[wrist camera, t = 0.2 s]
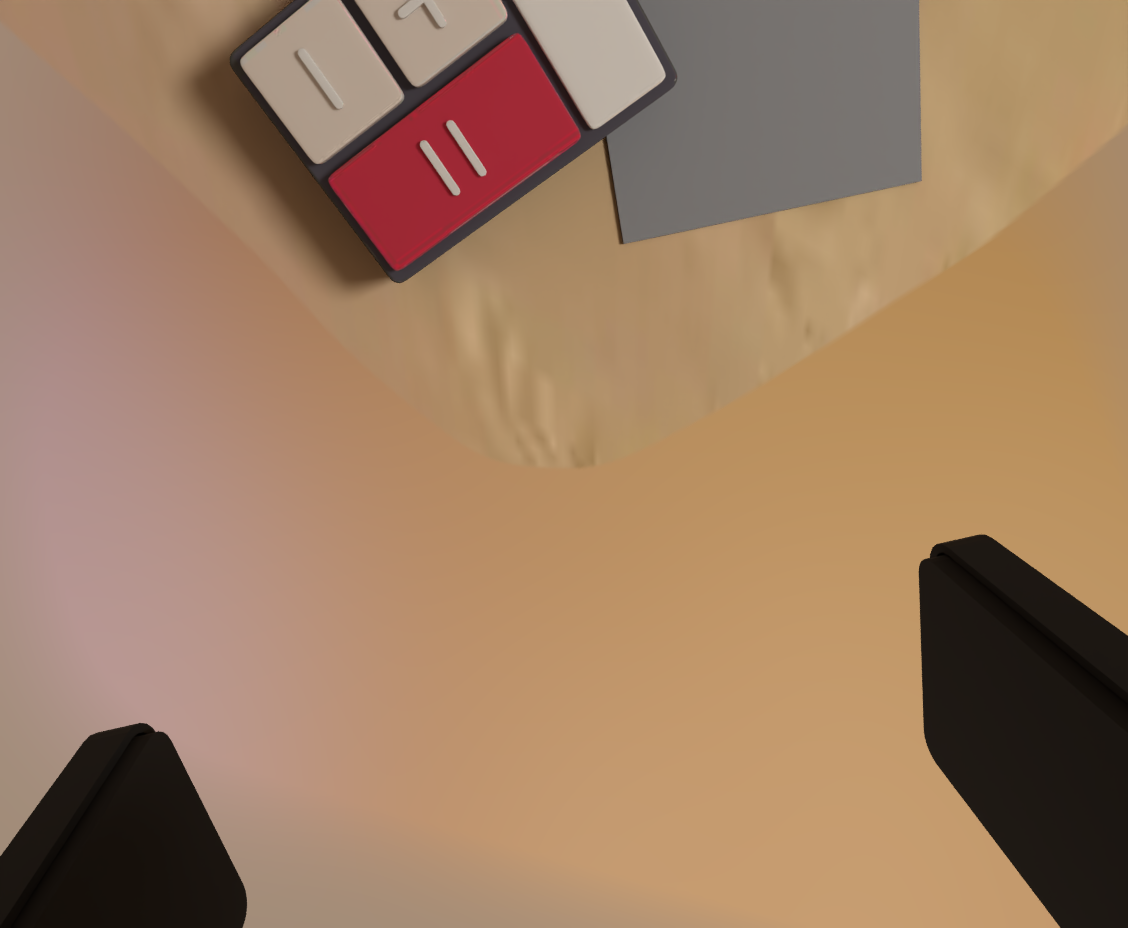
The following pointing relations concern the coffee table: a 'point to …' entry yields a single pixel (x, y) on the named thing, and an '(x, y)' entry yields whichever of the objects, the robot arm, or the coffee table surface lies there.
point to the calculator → (446, 104)
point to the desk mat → (770, 111)
